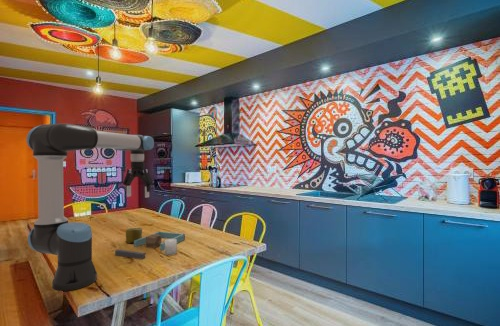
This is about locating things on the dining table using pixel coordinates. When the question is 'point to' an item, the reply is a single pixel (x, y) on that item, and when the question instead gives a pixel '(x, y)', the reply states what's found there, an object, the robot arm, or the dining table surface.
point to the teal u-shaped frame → (163, 235)
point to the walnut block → (153, 241)
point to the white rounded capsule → (170, 246)
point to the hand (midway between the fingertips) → (137, 197)
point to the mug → (133, 234)
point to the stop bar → (130, 254)
